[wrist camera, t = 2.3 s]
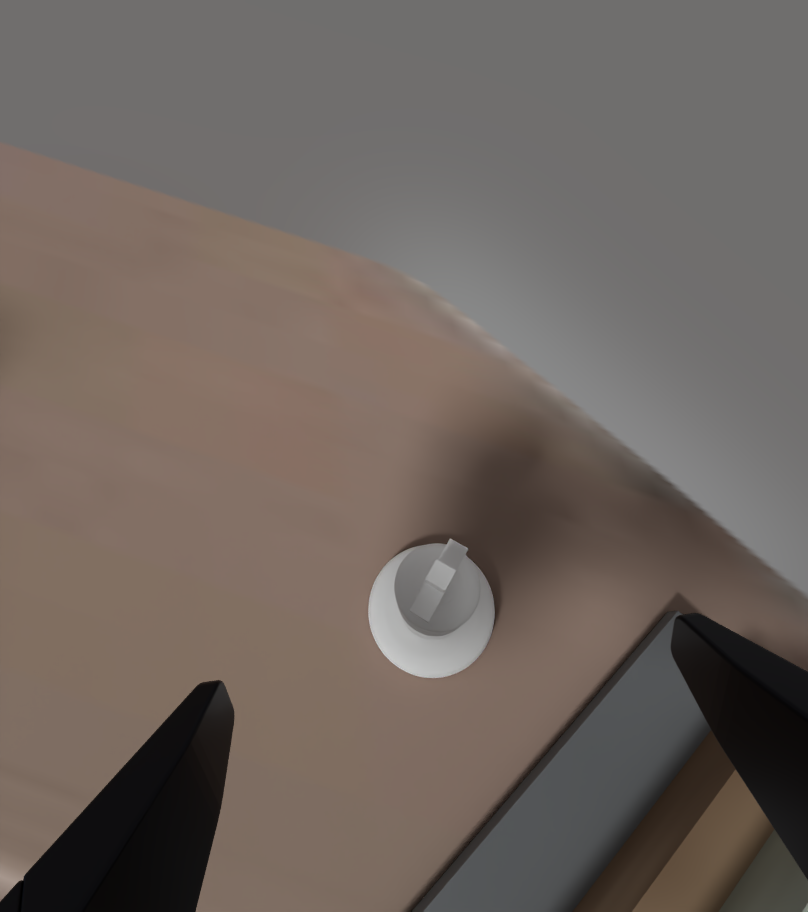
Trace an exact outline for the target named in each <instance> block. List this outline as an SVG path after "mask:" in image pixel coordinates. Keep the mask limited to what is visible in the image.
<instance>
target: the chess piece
mask: <svg viewBox="0 0 808 912" xmlns="http://www.w3.org/2000/svg"><path fill="white" fill-rule="evenodd" d="M467 551H468V548H466V547H465V546H463V545H461V544H459V543H458V542H456V541H454V540H452V539H451V538H450V540H449V541H448V543H447V545H446V544H440V543H433V544H427V545H421V546H416V547H412V548H409V549H407V550H405V551H403V552H401V553H399V554H398V555H396V556H395V557H394V558H392V559H391V560H390V561H389V562H388V563H387V564H386V565H385V566H384V567H383V569H382V570H381V571H380V573H379V575H378V576H377V578H376V580H375V582H374V584H373V587H372V590H371V593H370V598H369V607H368V614H369V623H370V627H371V631H372V634H373V637H374V639H375V641H376V643H377V645H378V647H379V648H380V650H381V651H382V652H383V654H384V655H385V656H386V657H387V658H388V659H389V660H390V661H391V662H392V663H393V664H394V665H396V666H397V667H399V668H400V669H402V670H404V671H405V672H408V673H410V674H413V675H416V676H419V677H425V678H440V677H446V676H450V675H453V674H456V673H458V672H460V671H462V670H464V669H465V668H467V667H468V666H469V665H471V664H472V663H473V662H474V661H475V660H476V659H477V658H478V657H479V656H480V655H481V653H482V652H483V650H484V649H485V647H486V645H487V644H488V641H489V639H490V637H491V634H492V630H493V626H494V618H495V607H494V599H493V595H492V591H491V588H490V586H489V583H488V581H487V579H486V577H485V576H484V574H483V573H482V571H481V570H480V569H479V567H478V566H477V565H476V564H475V563H474V562H473V561H472V560H471V559H469V558H468V557H467V556H466V555H465V554H466V553H467Z"/></svg>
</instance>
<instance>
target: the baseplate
mask: <svg viewBox="0 0 808 912" xmlns="http://www.w3.org/2000/svg"><path fill="white" fill-rule="evenodd" d="M678 615H682V614H681V613H680V612H679V611H672V612H667V613H666V614H665V616H664V617H663V618H662V619H661V620H660V621H659V623H658V624H657V625H656V626H655V627H654V628H653V630H652V631H651V632H650V633H649V634H648V635H647V637H646V638H645V639H644V640H643V641H642V642H641V644H640V645H639V646H638V647H637V648H636V649H635V651H634V652H633V653H632V654H631V655H630V656H629V658H628V659H627V660H626V661H625V662H624V664H623V665H622V666H621V667H620V668H619V669H618V671H617V672H616V673H615V674H614V675H613V676H612V678H611V679H610V680H609V681H608V682H607V683H606V685H605V686H604V687H603V688H602V689H601V690H600V692H599V693H598V694H597V695H596V696H595V697H594V699H593V700H592V701H591V702H590V703H589V704H588V706H587V707H586V708H585V709H584V710H583V711H582V713H581V714H580V715H579V716H578V717H577V719H576V720H575V721H574V722H573V723H572V724H571V726H570V727H569V728H568V729H567V730H566V731H565V733H564V734H563V735H562V736H561V737H560V738H559V740H558V741H557V742H556V743H555V744H554V745H553V747H552V748H551V749H550V750H549V751H548V752H547V754H546V755H545V756H544V757H543V758H542V759H541V761H540V762H539V763H538V764H537V765H536V766H535V768H534V769H533V770H532V771H531V772H530V773H529V775H528V776H527V777H526V778H525V779H524V781H523V782H522V783H521V784H520V785H519V786H518V788H517V789H516V790H515V791H514V792H513V793H512V795H511V796H510V797H509V798H508V799H507V800H506V802H505V803H504V804H503V805H502V806H501V807H500V809H499V810H498V811H497V812H496V813H495V814H494V816H493V817H492V818H491V819H490V820H489V821H488V823H487V824H486V825H485V826H484V827H483V828H482V830H481V831H480V832H479V833H478V834H477V836H476V837H475V838H474V839H473V840H472V841H471V843H470V844H469V845H468V846H467V847H466V848H465V850H464V851H463V852H462V853H461V854H460V855H459V857H458V858H457V859H456V860H455V861H454V862H453V864H452V865H451V866H450V867H449V868H448V869H447V871H446V872H445V873H444V874H443V875H442V876H441V878H440V879H439V880H438V881H437V882H436V883H435V885H434V886H433V887H432V888H431V889H430V891H429V892H428V893H427V894H426V895H425V896H424V898H423V899H422V900H421V901H420V902H419V903H418V905H417V906H416V907H415V908H414V909H413V910H412V912H572V911H573V910H574V909H575V908H576V906H577V905H578V904H579V902H580V901H581V900H582V898H583V897H584V896H585V894H586V893H587V892H588V890H589V889H590V888H591V887H592V885H593V884H594V883H595V881H596V880H597V879H598V877H599V876H600V875H601V873H602V872H603V871H604V870H605V868H606V867H607V866H608V864H609V863H610V862H611V860H612V859H613V858H614V856H615V855H616V854H617V852H618V851H619V850H620V849H621V847H622V846H623V845H624V843H625V842H626V841H627V839H628V838H629V837H630V835H631V834H632V833H633V832H634V830H635V829H636V828H637V826H638V825H639V824H640V822H641V821H642V820H643V818H644V817H645V816H646V815H647V813H648V812H649V811H650V809H651V808H652V807H653V805H654V804H655V803H656V801H657V800H658V799H659V797H660V796H661V795H662V794H663V792H664V791H665V790H666V788H667V787H668V786H669V784H670V783H671V782H672V780H673V779H674V778H675V777H676V775H677V774H678V773H679V771H680V770H681V769H682V767H683V766H684V765H685V763H686V762H687V761H688V759H689V758H690V757H691V756H692V754H693V753H694V752H695V750H696V749H697V748H698V746H699V745H700V744H701V742H702V741H703V740H704V739H705V737H706V736H707V735H708V733H709V732H710V731H711V729H710V727H709V725H708V723H707V722H706V720H705V718H704V716H703V714H702V712H701V710H700V708H699V706H698V704H697V703H696V701H695V699H694V697H693V695H692V693H691V691H690V689H689V687H688V685H687V683H686V682H685V680H684V678H683V676H682V674H681V672H680V670H679V668H678V666H677V664H676V663H675V661H674V659H673V656H672V653H671V638H672V632H673V625H674V620H675V618H676V617H677V616H678Z"/></svg>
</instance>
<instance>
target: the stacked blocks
mask: <svg viewBox="0 0 808 912" xmlns="http://www.w3.org/2000/svg"><path fill="white" fill-rule="evenodd" d="M572 912H808V880H807V879H806V877H805V875H804V874H803V872H802V871H801V869H800V868H799V866H798V865H797V863H796V862H795V860H794V858H793V857H792V855H791V854H790V852H789V851H788V849H787V848H786V846H785V845H784V843H783V842H782V840H781V838H780V837H779V835H778V834H777V832H776V831H775V829H774V828H773V826H772V825H771V823H770V821H769V820H768V818H767V817H766V815H765V814H764V812H763V811H762V809H761V808H760V806H759V804H758V803H757V801H756V800H755V798H754V797H753V795H752V794H751V792H750V791H749V789H748V788H747V786H746V784H745V783H744V781H743V780H742V778H741V777H740V775H739V774H738V772H737V771H736V769H735V767H734V766H733V764H732V763H731V761H730V760H729V758H728V757H727V755H726V754H725V752H724V750H723V749H722V747H721V746H720V744H719V742H718V741H717V739H716V738H715V736H714V734H713V732H712V731H710V732H709V733H708V735H707V736H706V737H705V739H704V740H703V741H702V742H701V744H700V745H699V746H698V748H697V749H696V750H695V752H694V753H693V754H692V756H691V757H690V758H689V759H688V761H687V762H686V763H685V765H684V766H683V767H682V769H681V770H680V771H679V773H678V774H677V775H676V777H675V778H674V779H673V780H672V782H671V783H670V784H669V786H668V787H667V788H666V790H665V791H664V792H663V794H662V795H661V796H660V797H659V799H658V800H657V801H656V803H655V804H654V805H653V807H652V808H651V809H650V811H649V812H648V813H647V815H646V816H645V817H644V818H643V820H642V821H641V822H640V824H639V825H638V826H637V828H636V829H635V830H634V832H633V833H632V834H631V835H630V837H629V838H628V839H627V841H626V842H625V843H624V845H623V846H622V847H621V849H620V850H619V851H618V852H617V854H616V855H615V856H614V858H613V859H612V860H611V862H610V863H609V864H608V866H607V867H606V868H605V870H604V871H603V872H602V873H601V875H600V876H599V877H598V879H597V880H596V881H595V883H594V884H593V885H592V887H591V888H590V889H589V890H588V892H587V893H586V894H585V896H584V897H583V898H582V900H581V901H580V902H579V904H578V905H577V906H576V908H575V909H574V910H573V911H572Z"/></svg>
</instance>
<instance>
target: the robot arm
mask: <svg viewBox="0 0 808 912" xmlns="http://www.w3.org/2000/svg"><path fill="white" fill-rule="evenodd" d="M671 653H672V656H673V659H674V661H675V663H676V664H677V666H678V668H679V670H680V672H681V674H682V676H683V678H684V680H685V682H686V683H687V685H688V687H689V689H690V691H691V693H692V695H693V697H694V699H695V701H696V703H697V704H698V706H699V708H700V710H701V712H702V714H703V716H704V718H705V720H706V722H707V723H708V725H709V727H710V729H711V731H712V732H713V734H714V736H715V738H716V739H717V741H718V742H719V744H720V746H721V747H722V749H723V750H724V752H725V754H726V755H727V757H728V758H729V760H730V761H731V763H732V764H733V766H734V767H735V769H736V771H737V772H738V774H739V775H740V777H741V778H742V780H743V781H744V783H745V784H746V786H747V788H748V789H749V791H750V792H751V794H752V795H753V797H754V798H755V800H756V801H757V803H758V804H759V806H760V808H761V809H762V811H763V812H764V814H765V815H766V817H767V818H768V820H769V821H770V823H771V825H772V826H773V828H774V829H775V831H776V832H777V834H778V835H779V837H780V838H781V840H782V842H783V843H784V845H785V846H786V848H787V849H788V851H789V852H790V854H791V855H792V857H793V858H794V860H795V862H796V863H797V865H798V866H799V868H800V869H801V871H802V872H803V874H804V875H805V877H806V879H807V880H808V672H807V671H805V670H803V669H802V668H800V667H798V666H796V665H794V664H792V663H790V662H789V661H787V660H785V659H783V658H781V657H779V656H777V655H776V654H774V653H772V652H770V651H768V650H766V649H765V648H763V647H761V646H759V645H757V644H755V643H753V642H752V641H750V640H748V639H746V638H744V637H742V636H740V635H739V634H737V633H735V632H733V631H731V630H729V629H728V628H726V627H724V626H722V625H720V624H718V623H716V622H715V621H713V620H711V619H709V618H707V617H705V616H703V615H701V614H698V613H691V614H683V615H678V616H677V617H676V618H675V620H674V625H673V632H672V638H671ZM233 726H234V709H233V705H232V703H231V700H230V698H229V695H228V692H227V690H226V687H225V685H224V683H223V682H222V681H221V680H216V681H209V682H203V683H200V684H199V685H197V686H196V687H195V689H194V690H193V691H192V692H191V693H190V694H189V695H188V696H187V697H186V698H185V699H184V701H183V702H182V703H181V704H180V705H179V706H178V707H177V708H176V709H175V710H174V712H173V713H172V714H171V715H170V716H169V717H168V718H167V719H166V720H165V721H164V723H163V724H162V725H161V726H160V727H159V728H158V729H157V730H156V731H155V732H154V734H153V735H152V736H151V737H150V738H149V739H148V740H147V741H146V742H145V743H144V745H143V746H142V747H141V748H140V749H139V750H138V751H137V752H136V753H135V754H134V756H133V757H132V758H131V759H130V760H129V761H128V762H127V763H126V764H125V765H124V767H123V768H122V769H121V770H120V771H119V772H118V773H117V774H116V775H115V776H114V778H113V779H112V780H111V781H110V782H109V783H108V784H107V785H106V786H105V787H104V788H103V790H102V791H101V792H100V793H99V794H98V795H97V796H96V797H95V798H94V799H93V801H92V802H91V803H90V804H89V805H88V806H87V807H86V808H85V809H84V810H83V812H82V813H81V814H80V815H79V816H78V817H77V818H76V819H75V820H74V821H73V823H72V824H71V825H70V826H69V827H68V828H67V829H66V830H65V831H64V832H63V834H62V835H61V836H60V837H59V838H58V839H57V840H56V841H55V842H54V843H53V845H52V846H51V847H50V848H49V849H48V850H47V851H46V852H45V853H44V854H43V856H42V857H41V858H40V859H39V860H38V861H37V862H36V863H35V864H34V865H33V866H32V868H31V869H30V870H29V871H28V872H27V873H26V874H25V876H24V879H23V880H21V881H19V882H18V883H17V884H16V885H15V886H14V887H13V888H12V889H11V890H10V892H9V893H8V894H7V895H6V896H5V897H4V898H3V899H2V900H1V901H0V912H195V911H196V907H197V903H198V899H199V895H200V891H201V887H202V883H203V879H204V875H205V871H206V867H207V863H208V859H209V855H210V851H211V847H212V843H213V839H214V835H215V831H216V827H217V823H218V818H219V814H220V810H221V804H222V798H223V793H224V786H225V779H226V772H227V766H228V759H229V752H230V746H231V739H232V732H233Z"/></svg>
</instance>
